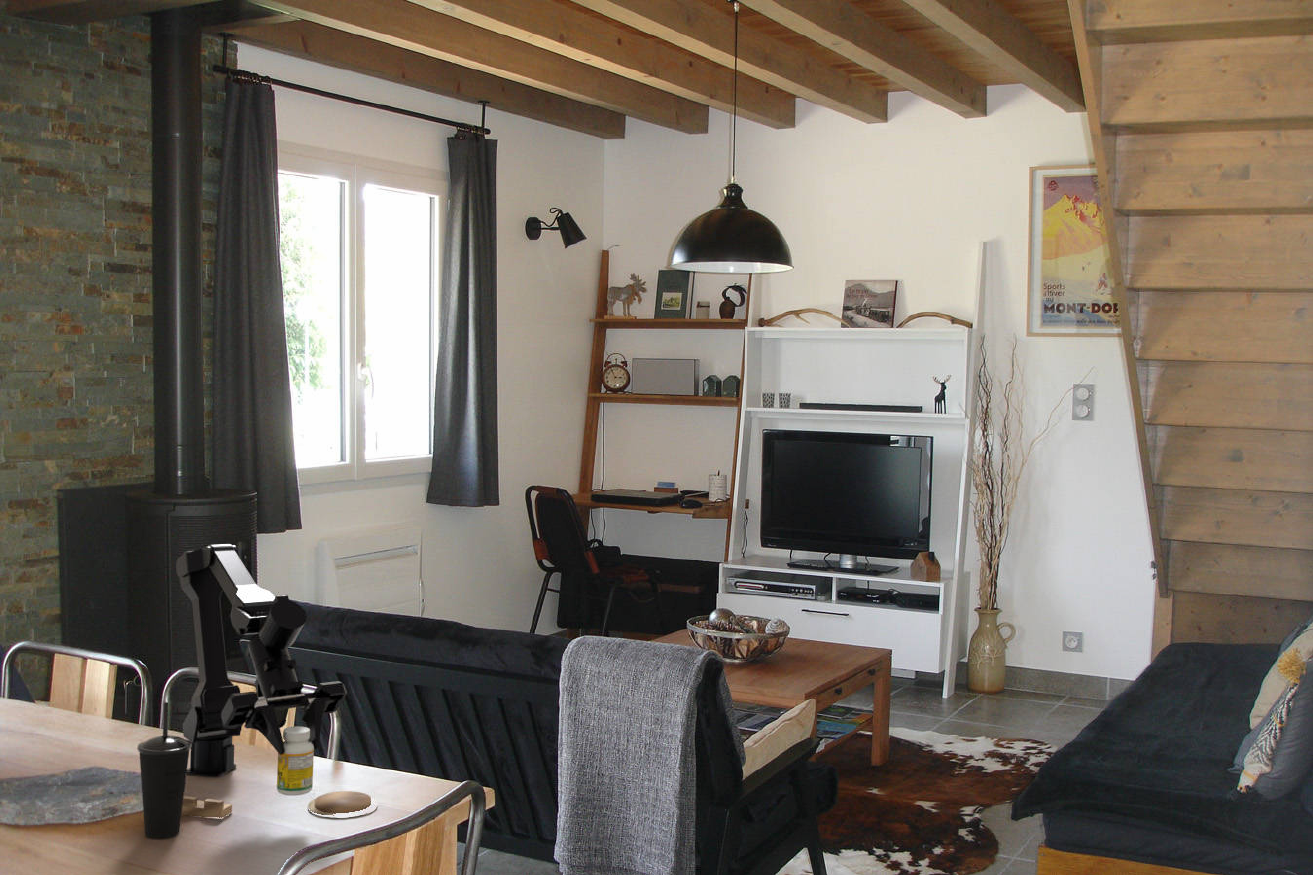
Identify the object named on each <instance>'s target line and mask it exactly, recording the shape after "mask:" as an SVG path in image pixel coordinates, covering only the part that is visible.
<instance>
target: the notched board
mask: <svg viewBox="0 0 1313 875" xmlns="http://www.w3.org/2000/svg"><path fill="white" fill-rule="evenodd" d="M224 802H225V801H224V800H221V799H211V798H207V799H205V800H198V797H197V796H196V797H194V796H187V795H184V798H183V806H182V814H181V816H185V815H189V816H188V817H193V816H201V817H200V818H202V817H219V818H220V817H221V818H222V817H225V816H226V815H228V814H229V813H231V812H232V813H233V804H230V803H224Z"/></svg>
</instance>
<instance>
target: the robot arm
mask: <svg viewBox="0 0 1313 875" xmlns="http://www.w3.org/2000/svg"><path fill="white" fill-rule="evenodd" d="M238 554H239V553H238V549H237V546H236V545H234V544H233V545H232V544H231V543H223V544H222V543H221V544H220V543H219V544H209V545H208V546H205V547H202V548H200V549H196V550H185V551H184V552H183V554H182V555H181V556H179V557H178V558H177V560H176V564H175V565H176V566H175V568H176V569H175V570H176V574H177V576H178V578H179V584H180V588H181V590H182V591H183V592H184V593H185V595H186V596H187V597H188V599H190V601H191V604H192V605H191V606H192V614H193V616H192V617H193V626H194V636H195V637H194V638H195V648H196V660H197V668H198V669H197V670H198V679H199V681H198V685H197V687H196V689H195V690H194V693H193V695H192V697H191V700H190V702H191V703H190V704H191V708H190V710H189V712H188V713H187V716H185V717H186V718H185V720H184V721H183V722H182V732H183V733H182V734H183V738H184V739H187V740H189V741H191V743H192V747H191V748H190V754H189V757H190V760H189V762H190V763H189V768H187V774H186V775H193V776H202V777H203V776H204V777H210V778H211V777H212V778H219V777H221V776H222V775H224V774H226V773H228V772H230V771H232V770H234V769H236V768H237V764H235V744H233V737H240V736H241V732H242V727H243V726H244V728H246V729H253V730H257V731H258V732H259V733H261V735H263V736H264V737H265V739H266V740H267V741H268V742H269V743H270V745H271V746H272V747H273V748H274V749H275V751H276V752H277V754H278V753H279V754H280V755H283V753H284V752H285V750H284V743H283V742H284V739H283V734H282V731H281V728H283V727H284V726H285V725H286V723H287V718H288V715H289V714H288V713H289V709H296V708H303V710H304V715H303V716H302V718H301V721H303V722H304V723H305V724H306V727H307V728H309V729H310V738H309V740H310V742H311V743H312V744H313V745H314V750H318V749H319V747H320V742H321V732H322V724H323V723H322V722H323V715H327V714H333V713H335V712H336V711H338V709H339V707H340V706H341V705H342V703H343V701H344V700H345V698H346V697H347V695H348V692H347V689H346V687H345V684H344V683H343V682H341V681H339V680H337V681H329V682H319V683H318V685H317V687H316V688H315V690H314V691H313V692H308V693H303V692H302V690H303V688H304V687H305V686H304V683H303V680H298V677H297V675H296V671H295V668H296V666H297V662H296V659H294V658H293V659H292V658H291V656H290V653H289V649H288V648H289V647H291V646H292V645H293V644H295V643H294V642H295V641H296V639H297V637H298V636H299V634H300V632H301V630H302V628H303V627H304V626H305V623H306V621H307V619H308V618H307V616H308V615H307V612H306V609H304V608H303V607H302V606H301V605H300V604H298V603H297V602H295V601H293V600H290V599H289V598H290V597H289V595H288V594H283V595H274V594H273V593H271V591H269V590H267V589H263V588H261V587H259V585H257V583H256V582H255V580H254V578H253V577H252V576H251V574H250V572H249V571H248V569H247V568H246V566H245V564H244V562H243V561H242V559H241V558H240V557H239V555H238ZM223 592H224V594H225V595H226V597H227V599H228V601H229V602H230V603H231V606H232V607H231V612H230V616H229V617H230V621H231V625H232V628H233V629H235V632H236V633H237V634H238V635H240V636H245V635H253V636H251V638H250V640H249V641H248V644H247V649H246V652H245V657H246V658H247V659H248V658H249V659H251V662H252V665H253V668H254V672H255V675H256V679H255V681H254V684H255V686H254V687H255V691H246V692H241V689H240V687H239V685H234V683H232V681H231V680H230V679H229V675H228V668H227V667H228V666H227V665H228V664H227V658H226V647H225V646H226V645H225V637H224V636H225V635H224V625H223V617H222V616H223V615H222V614H223V613H222V604H221V595H222V593H223Z"/></svg>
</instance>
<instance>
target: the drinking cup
mask: <svg viewBox="0 0 1313 875" xmlns="http://www.w3.org/2000/svg"><path fill="white" fill-rule="evenodd" d="M162 713H163V715H162V721H163V722H162V735H157V736H153V737H151V738H149V739H147V740H144V741H143V742H140V743H139V744H138V745H137V751H138V752H139V763H140V764H139V765H140V780H141V796H142V808H143V809H142V811H143V824H144V827H143V828H144V836H145V837H146V838H147V839H150V840H166V839H171V838H173V837H176V836H178V835H179V833H180V830H181V829H180V828H181V821H182V815H181V814H182V806H183V798H184V796H185V788H186V783H187V782H186V780H187V775H188V774H187V769H188V766H189V765H188V764H189V757H190V751H191V747H192V743H191V741H190V740H188V739H186V738H184V737H182V736H181V737H180V736H177V735H171V734H168V733H169V731H168V729H169V727H168V726H169V702H168V701H167V702H166V701H165V702H163V712H162Z"/></svg>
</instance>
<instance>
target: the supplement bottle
mask: <svg viewBox="0 0 1313 875" xmlns="http://www.w3.org/2000/svg"><path fill="white" fill-rule="evenodd" d="M282 732H283V733H282V738H283V743H284V750H285V752H284V753H283V755H280V754H279V753H278V752H277V773H276V774H277V775H276V776H277V778H276V780H277V781H276V790H277V792H278V793H279V794H281V795H284V796H288V797H289V796H293V797H295V796H303V795H306V794H309V793H310V792H311V791H312V790H313V783H314V782H313V780H314V757H315V754H314V752H315V749H314V745H313V744H312V742H311V740H310V729H309V728H308V727H307V726H297V725H296V726H288V727H286V728H284V729H283V731H282Z"/></svg>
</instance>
